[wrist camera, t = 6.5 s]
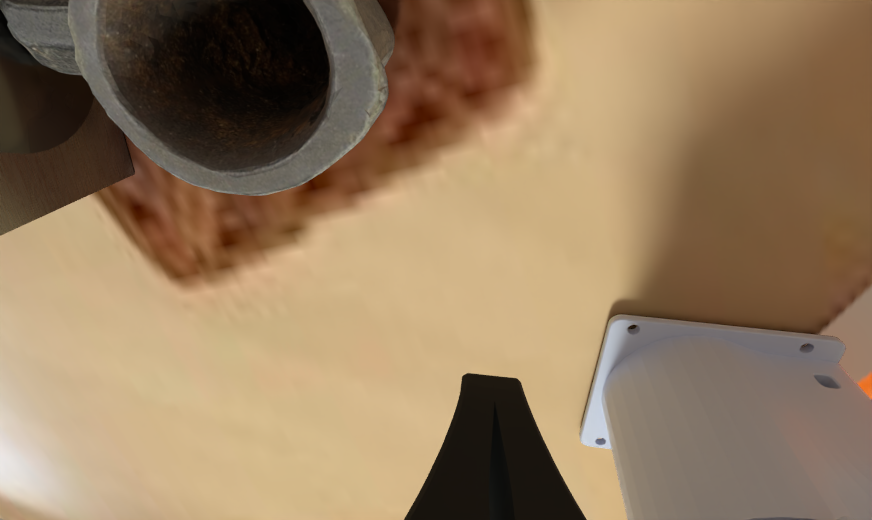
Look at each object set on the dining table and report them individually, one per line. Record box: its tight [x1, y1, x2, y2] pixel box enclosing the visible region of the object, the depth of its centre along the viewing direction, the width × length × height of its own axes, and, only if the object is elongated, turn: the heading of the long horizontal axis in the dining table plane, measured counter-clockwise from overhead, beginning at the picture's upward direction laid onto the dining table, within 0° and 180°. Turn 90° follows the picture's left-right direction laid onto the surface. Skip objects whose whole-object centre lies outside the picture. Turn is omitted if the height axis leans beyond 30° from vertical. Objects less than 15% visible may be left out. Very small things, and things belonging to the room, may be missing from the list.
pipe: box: [0, 0, 395, 196], centre depth 14 cm, size 6×13×8 cm, turn 88°
